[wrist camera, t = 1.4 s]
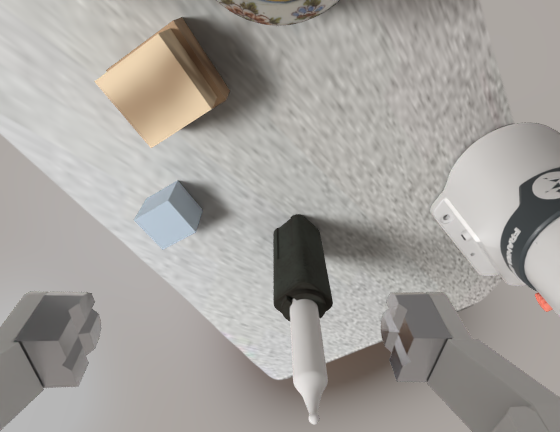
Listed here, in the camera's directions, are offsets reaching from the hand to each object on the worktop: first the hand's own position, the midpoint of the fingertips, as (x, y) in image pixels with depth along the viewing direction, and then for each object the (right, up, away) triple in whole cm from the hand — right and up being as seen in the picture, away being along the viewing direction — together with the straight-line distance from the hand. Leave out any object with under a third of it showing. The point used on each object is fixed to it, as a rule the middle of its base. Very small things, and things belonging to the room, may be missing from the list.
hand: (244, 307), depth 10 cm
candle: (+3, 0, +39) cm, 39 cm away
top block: (-10, +15, +24) cm, 30 cm away
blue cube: (-12, +4, +36) cm, 38 cm away
